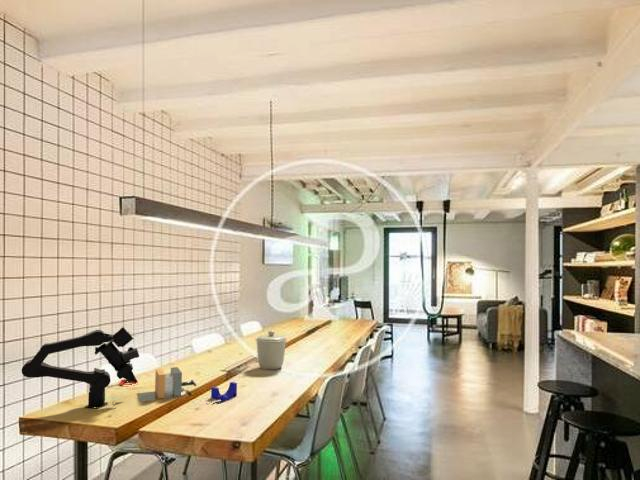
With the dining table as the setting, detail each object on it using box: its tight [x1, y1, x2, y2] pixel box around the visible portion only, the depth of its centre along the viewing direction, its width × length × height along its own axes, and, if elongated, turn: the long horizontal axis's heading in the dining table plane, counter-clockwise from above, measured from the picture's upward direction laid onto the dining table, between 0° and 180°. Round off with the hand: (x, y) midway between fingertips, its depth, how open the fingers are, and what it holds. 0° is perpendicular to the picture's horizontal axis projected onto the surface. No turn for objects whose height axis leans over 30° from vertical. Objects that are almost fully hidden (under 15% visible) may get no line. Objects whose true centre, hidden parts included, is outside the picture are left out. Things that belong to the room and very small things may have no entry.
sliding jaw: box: [154, 368, 166, 400], centre depth 195 cm, size 2×12×10 cm, turn 27°
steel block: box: [165, 372, 174, 396], centre depth 196 cm, size 4×7×8 cm, turn 27°
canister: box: [255, 330, 288, 371], centre depth 254 cm, size 18×18×21 cm
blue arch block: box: [210, 381, 238, 404], centre depth 195 cm, size 12×4×6 cm, turn 144°
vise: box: [136, 366, 197, 402], centre depth 196 cm, size 24×13×12 cm, turn 117°
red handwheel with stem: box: [119, 362, 139, 386], centre depth 218 cm, size 8×13×9 cm
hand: (136, 382), depth 191 cm, fingers closed
